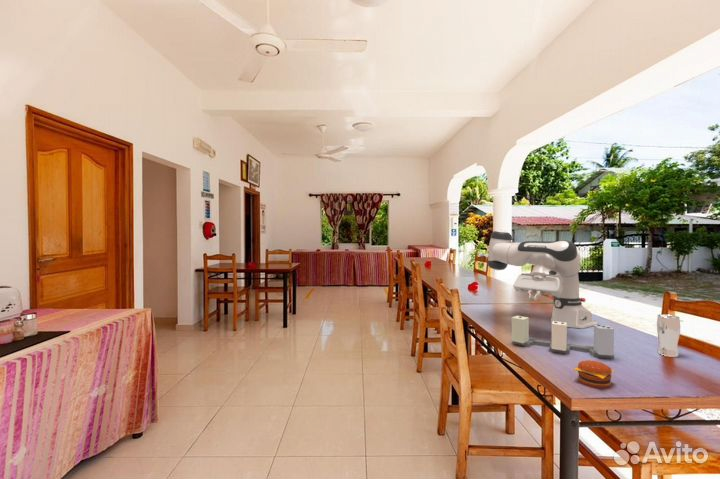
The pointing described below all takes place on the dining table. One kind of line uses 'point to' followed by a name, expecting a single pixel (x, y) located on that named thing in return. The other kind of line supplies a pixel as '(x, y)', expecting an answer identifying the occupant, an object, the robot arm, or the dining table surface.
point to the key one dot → (520, 329)
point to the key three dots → (603, 340)
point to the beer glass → (668, 334)
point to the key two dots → (559, 335)
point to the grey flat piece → (569, 347)
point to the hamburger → (594, 374)
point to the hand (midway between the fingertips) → (532, 299)
